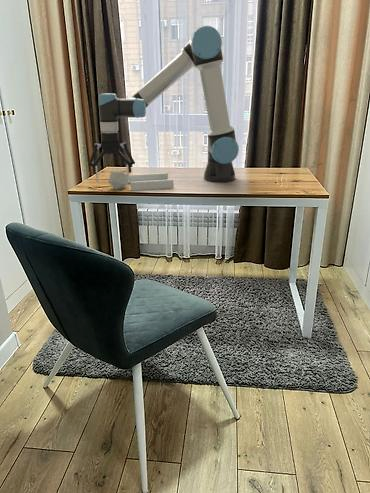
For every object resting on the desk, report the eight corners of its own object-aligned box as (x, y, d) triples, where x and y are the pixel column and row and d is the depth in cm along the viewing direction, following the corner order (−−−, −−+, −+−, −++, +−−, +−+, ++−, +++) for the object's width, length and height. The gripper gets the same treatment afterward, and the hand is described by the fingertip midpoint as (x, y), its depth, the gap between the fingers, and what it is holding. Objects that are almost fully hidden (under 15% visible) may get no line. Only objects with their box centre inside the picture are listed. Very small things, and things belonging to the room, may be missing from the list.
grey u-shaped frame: (167, 179, 193) (167, 172, 192) (173, 187, 180) (173, 179, 178) (128, 182, 189) (127, 175, 188) (131, 190, 176) (130, 182, 175)
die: (127, 192, 176) (133, 172, 177) (109, 184, 172) (116, 164, 173) (120, 194, 183) (127, 175, 184) (103, 187, 179) (110, 167, 181)
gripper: (137, 130, 178) (139, 177, 186) (80, 131, 173) (84, 179, 181) (139, 132, 171) (141, 181, 179) (79, 133, 166) (84, 183, 174)
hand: (112, 180), depth 180 cm, fingers open, 13 cm apart
